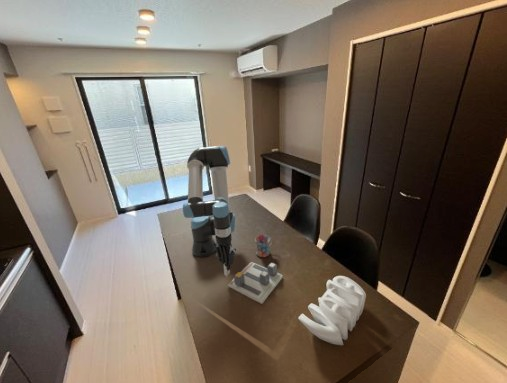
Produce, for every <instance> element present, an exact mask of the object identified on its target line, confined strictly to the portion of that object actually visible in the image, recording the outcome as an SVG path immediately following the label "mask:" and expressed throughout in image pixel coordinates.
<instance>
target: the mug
mask: <svg viewBox="0 0 507 383" xmlns="http://www.w3.org/2000/svg"><path fill="white" fill-rule="evenodd" d="M254 241H255V243H256V248H257V249H256V251H255V253H256V255H257V257H259V258H266V257H268V256H270V254H271V251H270V246H272V244H273V242H274V238H273V237H270V236H269V235H266V234H259V235H256V236H255V238H254Z"/></svg>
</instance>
